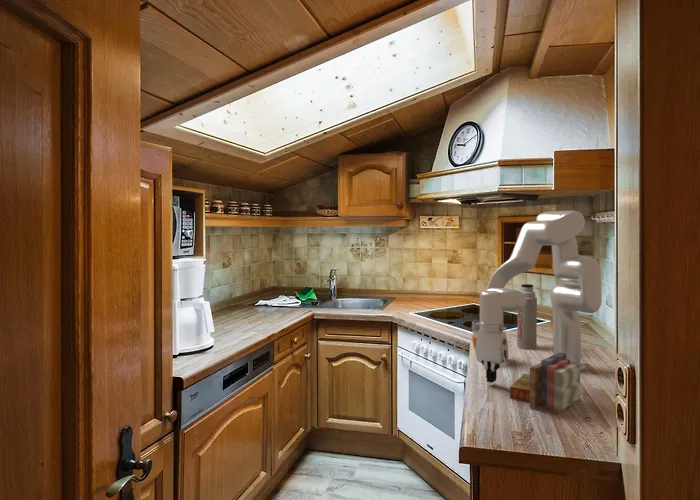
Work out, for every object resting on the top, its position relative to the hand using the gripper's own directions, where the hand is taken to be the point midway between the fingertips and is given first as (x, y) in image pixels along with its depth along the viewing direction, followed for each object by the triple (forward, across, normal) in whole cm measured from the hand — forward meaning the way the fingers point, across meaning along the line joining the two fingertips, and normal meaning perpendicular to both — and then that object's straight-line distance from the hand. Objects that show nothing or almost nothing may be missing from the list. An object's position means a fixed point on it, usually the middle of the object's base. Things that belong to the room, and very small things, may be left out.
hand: (491, 381), depth 150 cm
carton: (+2, -12, -2) cm, 13 cm away
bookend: (+1, -22, 0) cm, 22 cm away
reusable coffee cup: (+2, +17, -25) cm, 30 cm away
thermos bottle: (+2, +15, -54) cm, 56 cm away
